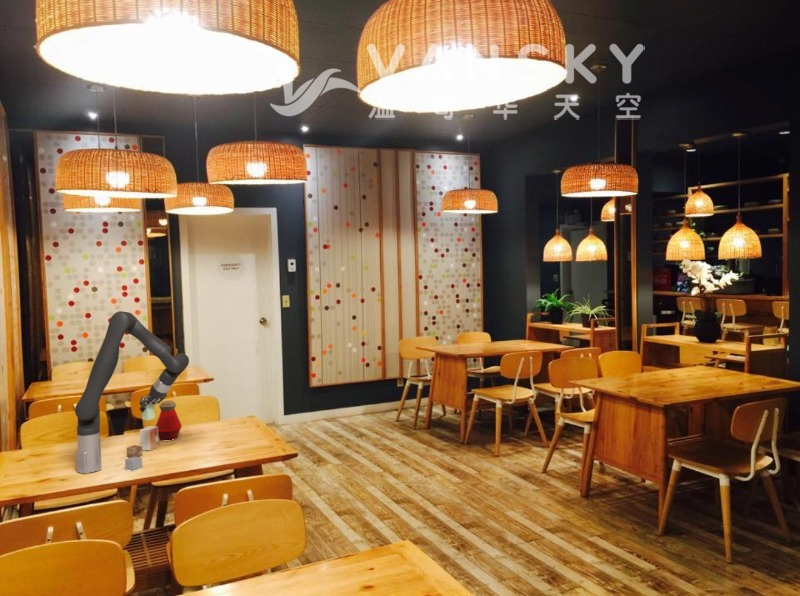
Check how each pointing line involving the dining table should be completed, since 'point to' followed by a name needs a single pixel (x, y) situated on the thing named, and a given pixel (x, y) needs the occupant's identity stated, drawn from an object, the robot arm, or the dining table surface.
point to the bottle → (168, 421)
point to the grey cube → (133, 463)
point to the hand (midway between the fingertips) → (145, 409)
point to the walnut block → (134, 451)
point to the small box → (149, 438)
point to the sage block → (148, 412)
